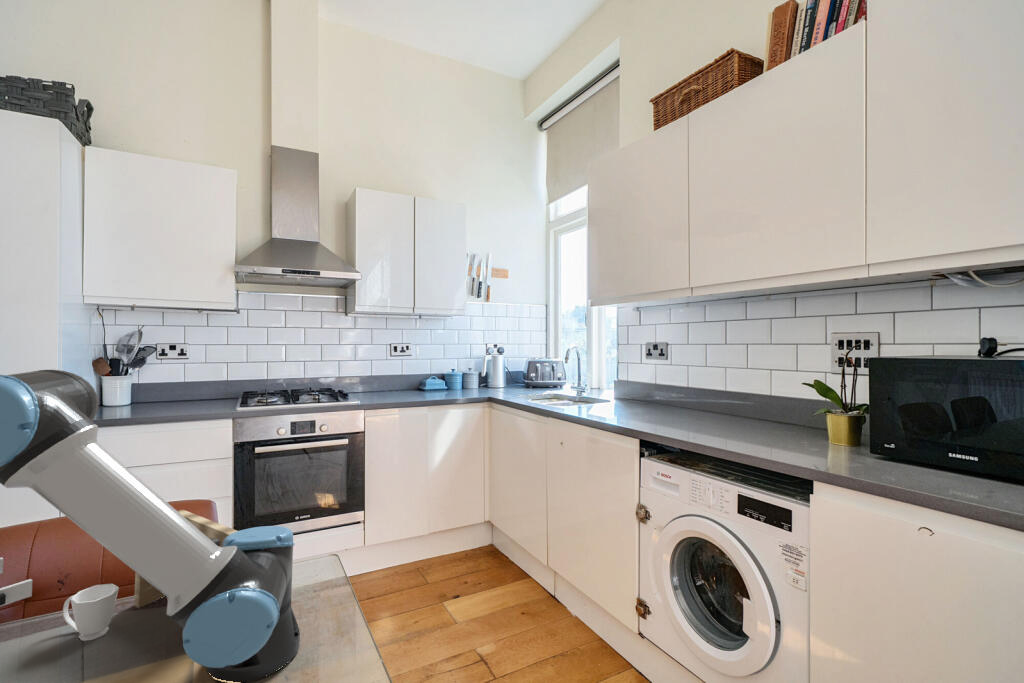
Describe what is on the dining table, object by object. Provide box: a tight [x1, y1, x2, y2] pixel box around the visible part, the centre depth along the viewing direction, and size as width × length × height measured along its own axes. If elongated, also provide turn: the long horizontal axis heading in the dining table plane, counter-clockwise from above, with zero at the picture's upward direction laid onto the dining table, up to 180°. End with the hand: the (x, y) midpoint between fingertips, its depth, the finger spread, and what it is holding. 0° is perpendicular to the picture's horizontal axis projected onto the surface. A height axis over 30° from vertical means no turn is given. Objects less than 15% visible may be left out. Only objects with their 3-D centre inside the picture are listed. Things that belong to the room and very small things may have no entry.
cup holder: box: [133, 509, 238, 609], centre depth 98 cm, size 24×9×19 cm, turn 62°
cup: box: [62, 583, 120, 642], centre depth 91 cm, size 7×10×8 cm
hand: (16, 575), depth 82 cm, fingers open, 13 cm apart
